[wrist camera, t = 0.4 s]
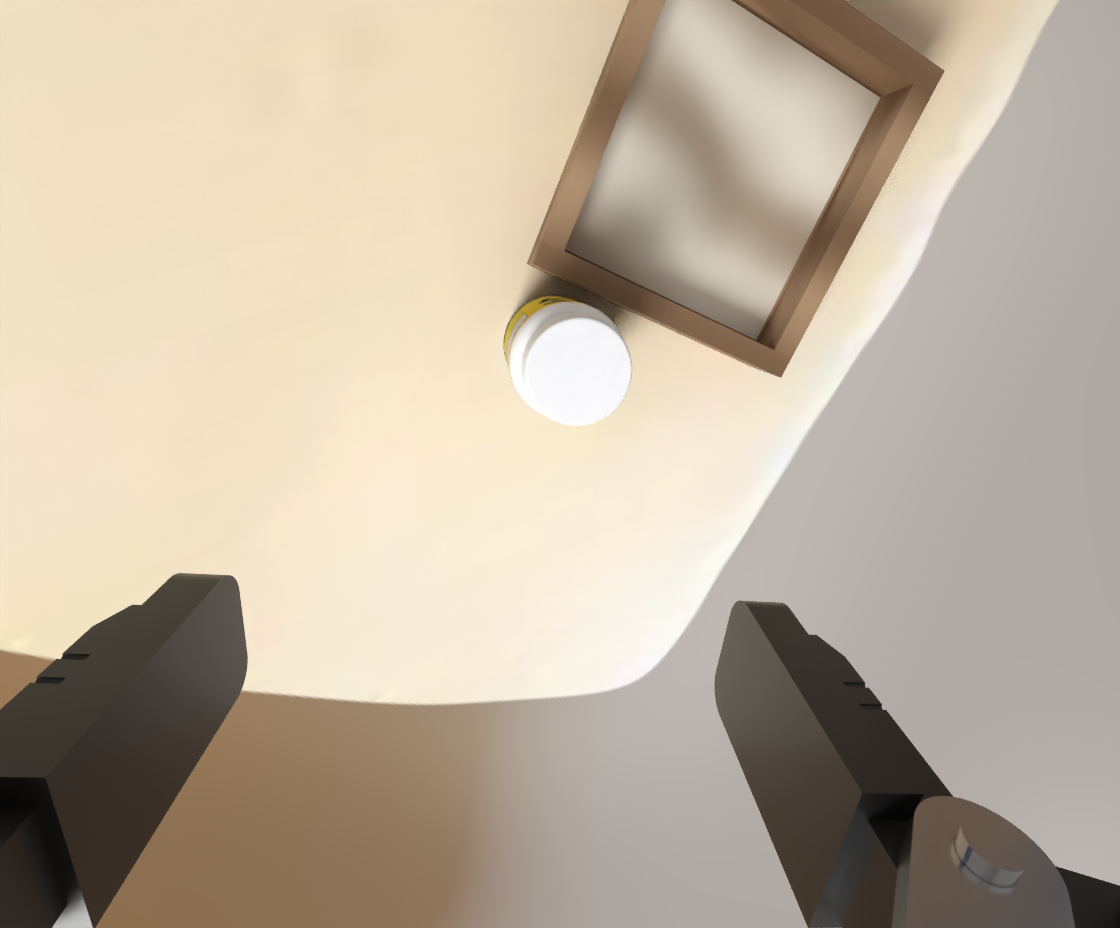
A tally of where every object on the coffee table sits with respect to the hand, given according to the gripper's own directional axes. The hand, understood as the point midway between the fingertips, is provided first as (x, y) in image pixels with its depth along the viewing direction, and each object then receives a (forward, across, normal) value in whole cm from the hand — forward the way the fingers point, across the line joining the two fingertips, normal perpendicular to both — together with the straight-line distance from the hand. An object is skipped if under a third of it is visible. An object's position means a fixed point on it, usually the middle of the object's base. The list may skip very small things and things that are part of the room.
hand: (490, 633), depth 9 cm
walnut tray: (+22, -9, -10) cm, 25 cm away
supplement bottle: (+21, -2, -1) cm, 21 cm away
